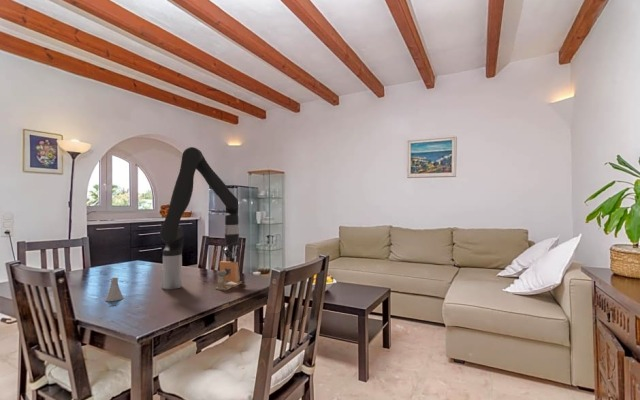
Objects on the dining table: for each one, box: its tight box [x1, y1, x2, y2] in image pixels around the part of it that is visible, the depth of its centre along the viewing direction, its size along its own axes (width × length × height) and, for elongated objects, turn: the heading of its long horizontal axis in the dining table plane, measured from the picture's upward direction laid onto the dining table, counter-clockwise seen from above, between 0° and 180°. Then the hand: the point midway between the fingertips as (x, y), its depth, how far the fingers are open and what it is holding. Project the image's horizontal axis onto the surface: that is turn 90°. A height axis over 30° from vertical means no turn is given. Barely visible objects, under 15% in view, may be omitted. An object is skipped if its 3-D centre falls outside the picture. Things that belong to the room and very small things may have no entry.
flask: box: [105, 277, 124, 302], centre depth 154 cm, size 7×7×10 cm
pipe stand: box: [214, 266, 243, 291], centre depth 177 cm, size 15×6×9 cm, turn 160°
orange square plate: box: [219, 260, 239, 282], centre depth 177 cm, size 10×2×10 cm, turn 70°
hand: (231, 264), depth 179 cm, fingers closed
